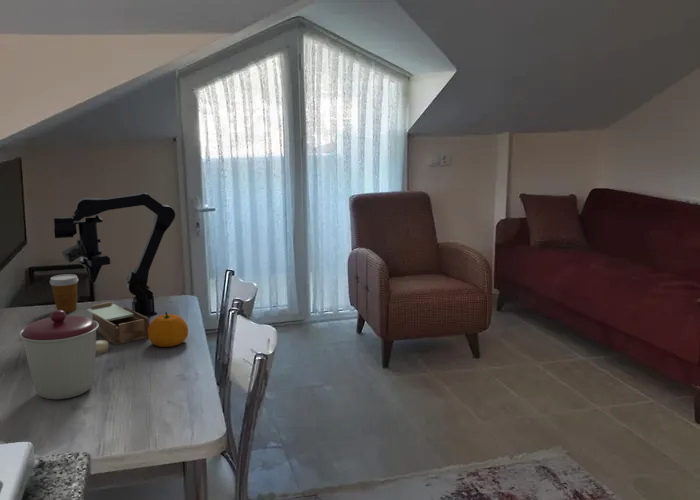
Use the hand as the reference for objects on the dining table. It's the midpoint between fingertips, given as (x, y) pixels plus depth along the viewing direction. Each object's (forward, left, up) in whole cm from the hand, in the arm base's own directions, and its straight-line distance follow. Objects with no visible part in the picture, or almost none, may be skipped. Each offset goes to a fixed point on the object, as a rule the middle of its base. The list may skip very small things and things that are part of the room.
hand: (92, 282), depth 227 cm
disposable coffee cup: (+3, -19, -13) cm, 23 cm away
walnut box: (0, +21, -13) cm, 25 cm away
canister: (+29, +55, -13) cm, 64 cm away
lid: (0, +13, -8) cm, 15 cm away
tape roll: (+11, +31, -13) cm, 35 cm away
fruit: (-7, +39, -13) cm, 42 cm away
